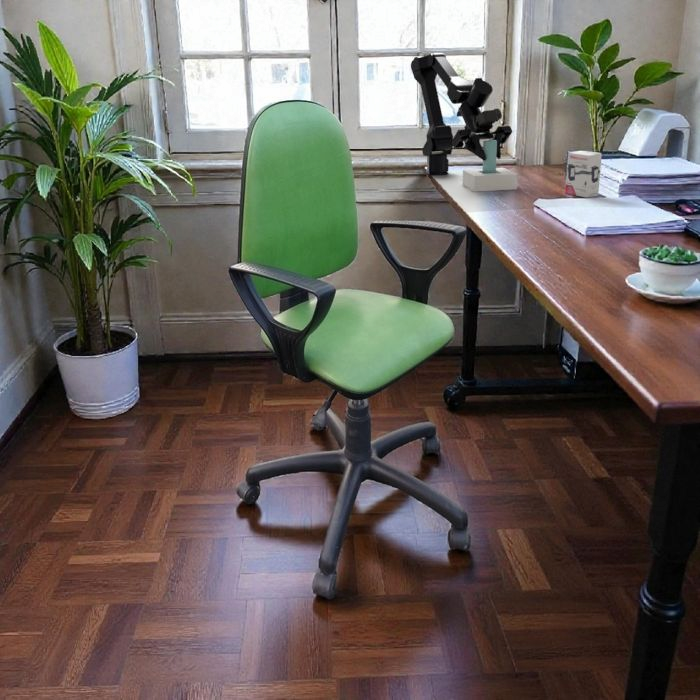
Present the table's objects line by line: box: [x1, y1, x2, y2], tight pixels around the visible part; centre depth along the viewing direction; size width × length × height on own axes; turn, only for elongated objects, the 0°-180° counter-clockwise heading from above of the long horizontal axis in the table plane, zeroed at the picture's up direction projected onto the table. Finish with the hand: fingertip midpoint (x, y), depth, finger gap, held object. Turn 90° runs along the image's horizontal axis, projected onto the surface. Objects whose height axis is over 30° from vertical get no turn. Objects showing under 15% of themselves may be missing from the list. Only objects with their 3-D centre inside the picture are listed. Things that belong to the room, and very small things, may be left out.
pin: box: [482, 140, 497, 174], centre depth 230 cm, size 4×4×12 cm
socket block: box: [462, 167, 518, 193], centre depth 232 cm, size 13×13×4 cm
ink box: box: [564, 150, 603, 198], centre depth 214 cm, size 8×5×12 cm, turn 31°
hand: (492, 158), depth 228 cm, fingers open, 5 cm apart
